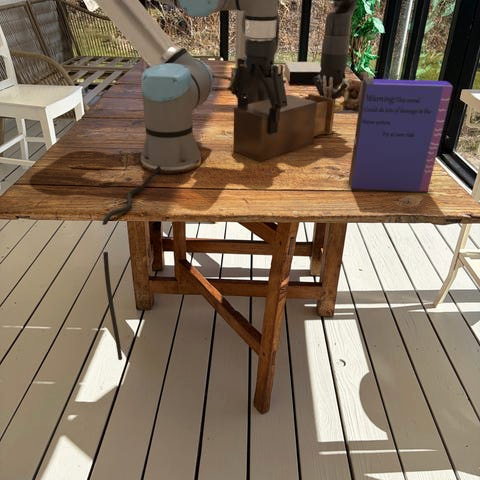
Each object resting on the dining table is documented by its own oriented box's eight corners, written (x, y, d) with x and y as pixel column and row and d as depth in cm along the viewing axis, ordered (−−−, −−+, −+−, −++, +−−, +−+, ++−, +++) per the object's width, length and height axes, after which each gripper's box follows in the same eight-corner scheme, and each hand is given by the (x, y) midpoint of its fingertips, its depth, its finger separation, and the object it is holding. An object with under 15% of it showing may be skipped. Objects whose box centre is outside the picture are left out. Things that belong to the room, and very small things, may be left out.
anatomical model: (349, 110, 180) (352, 112, 166) (333, 93, 179) (334, 95, 165) (374, 84, 176) (379, 84, 162) (358, 67, 175) (361, 66, 161)
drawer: (319, 121, 152) (323, 90, 147) (343, 129, 146) (348, 96, 141) (261, 139, 137) (263, 104, 132) (286, 148, 131) (288, 112, 126)
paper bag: (273, 76, 210) (276, 6, 196) (239, 77, 209) (240, 6, 194) (266, 67, 226) (268, 2, 212) (235, 67, 225) (235, 1, 210)
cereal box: (422, 183, 114) (445, 80, 101) (427, 192, 110) (453, 85, 97) (348, 180, 115) (363, 77, 102) (351, 189, 111) (366, 83, 98)
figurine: (210, 87, 179) (288, 95, 182) (212, 65, 176) (291, 73, 180) (208, 84, 201) (278, 91, 205) (210, 64, 198) (280, 71, 202)
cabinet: (286, 134, 144) (288, 94, 138) (313, 143, 137) (317, 102, 131) (233, 150, 131) (233, 107, 125) (260, 161, 125) (262, 116, 119)
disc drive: (289, 84, 198) (290, 71, 196) (284, 72, 218) (284, 61, 215) (331, 84, 199) (332, 72, 196) (322, 72, 218) (323, 61, 215)
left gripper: (307, 43, 110) (299, 135, 122) (239, 31, 125) (238, 115, 136) (285, 46, 106) (279, 142, 117) (217, 34, 120) (218, 120, 132)
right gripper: (362, 53, 134) (353, 114, 143) (325, 46, 142) (319, 104, 151) (345, 56, 130) (338, 118, 139) (308, 49, 138) (303, 109, 147)
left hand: (257, 127), depth 127 cm, fingers closed on cabinet, 11 cm apart
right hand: (328, 111), depth 145 cm, fingers closed
